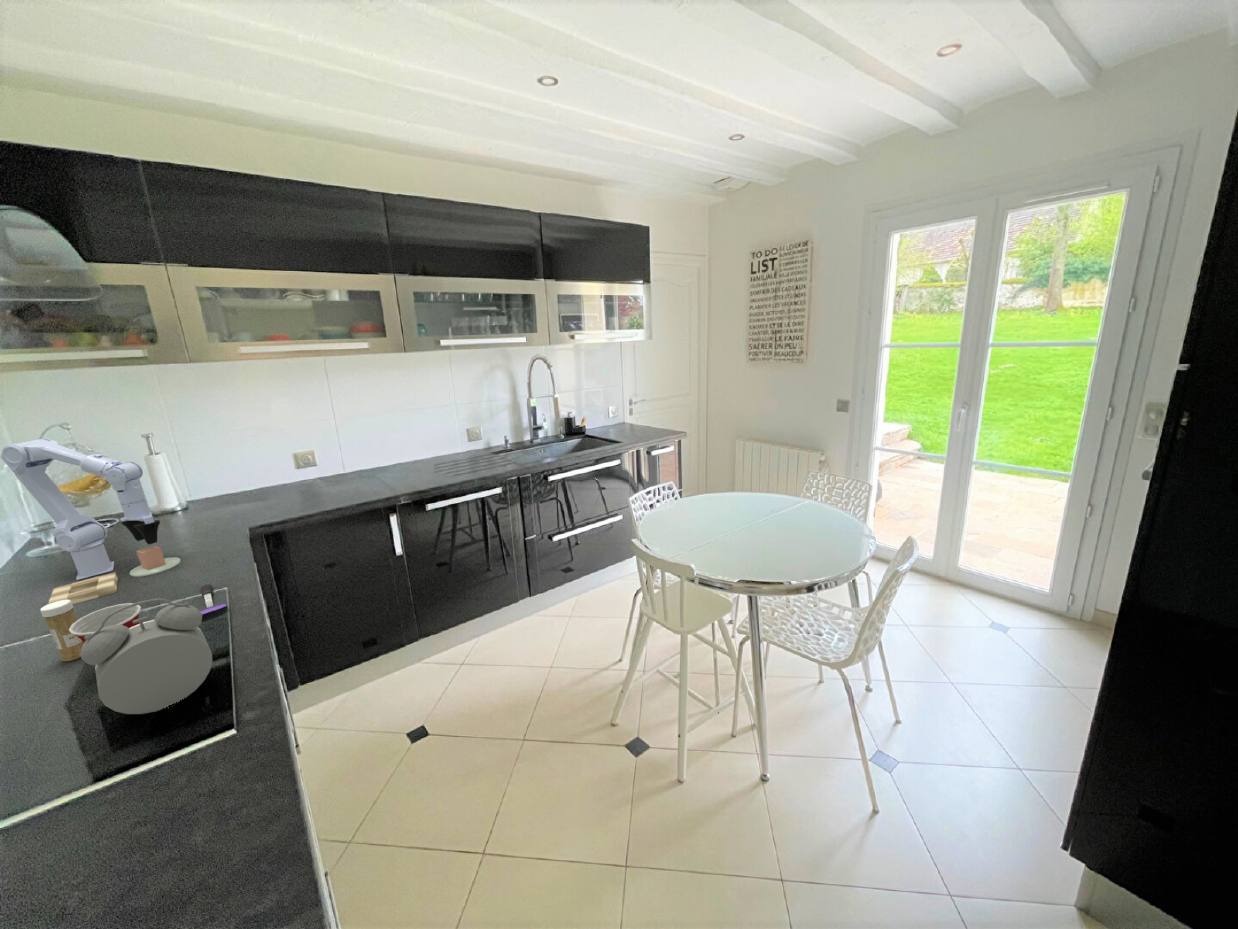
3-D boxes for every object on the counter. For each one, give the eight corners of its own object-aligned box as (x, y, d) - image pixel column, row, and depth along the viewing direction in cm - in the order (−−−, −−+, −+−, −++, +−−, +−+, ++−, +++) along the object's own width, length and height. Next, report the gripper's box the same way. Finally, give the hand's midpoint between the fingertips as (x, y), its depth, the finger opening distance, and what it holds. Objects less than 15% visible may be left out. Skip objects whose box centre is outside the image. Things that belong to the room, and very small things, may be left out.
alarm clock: (218, 670, 101) (189, 578, 95) (227, 688, 95) (196, 591, 89) (108, 717, 89) (67, 615, 83) (111, 741, 83) (66, 633, 78)
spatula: (192, 592, 136) (189, 584, 136) (222, 583, 141) (220, 576, 140) (195, 625, 119) (192, 617, 118) (229, 614, 123) (226, 606, 123)
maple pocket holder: (56, 594, 138) (54, 588, 137) (117, 578, 146) (115, 572, 146) (50, 610, 129) (47, 603, 129) (116, 592, 138) (113, 585, 137)
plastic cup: (86, 688, 97) (66, 638, 94) (89, 665, 105) (69, 618, 102) (158, 661, 105) (141, 614, 102) (155, 641, 112) (139, 597, 109)
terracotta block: (142, 568, 151) (136, 551, 150) (159, 562, 155) (154, 545, 154) (148, 570, 149) (142, 553, 148) (166, 564, 153) (160, 547, 152)
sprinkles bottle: (86, 657, 108) (65, 605, 104) (58, 665, 106) (35, 612, 102) (94, 646, 112) (73, 596, 108) (66, 654, 109) (44, 603, 106)
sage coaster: (130, 568, 153) (130, 567, 153) (179, 555, 161) (179, 554, 161) (129, 580, 145) (129, 578, 144) (181, 566, 153) (181, 564, 152)
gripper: (105, 503, 146) (120, 543, 150) (126, 508, 140) (140, 550, 144) (135, 496, 153) (148, 534, 156) (156, 500, 146) (170, 540, 150)
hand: (147, 541), depth 150 cm, fingers open, 7 cm apart
